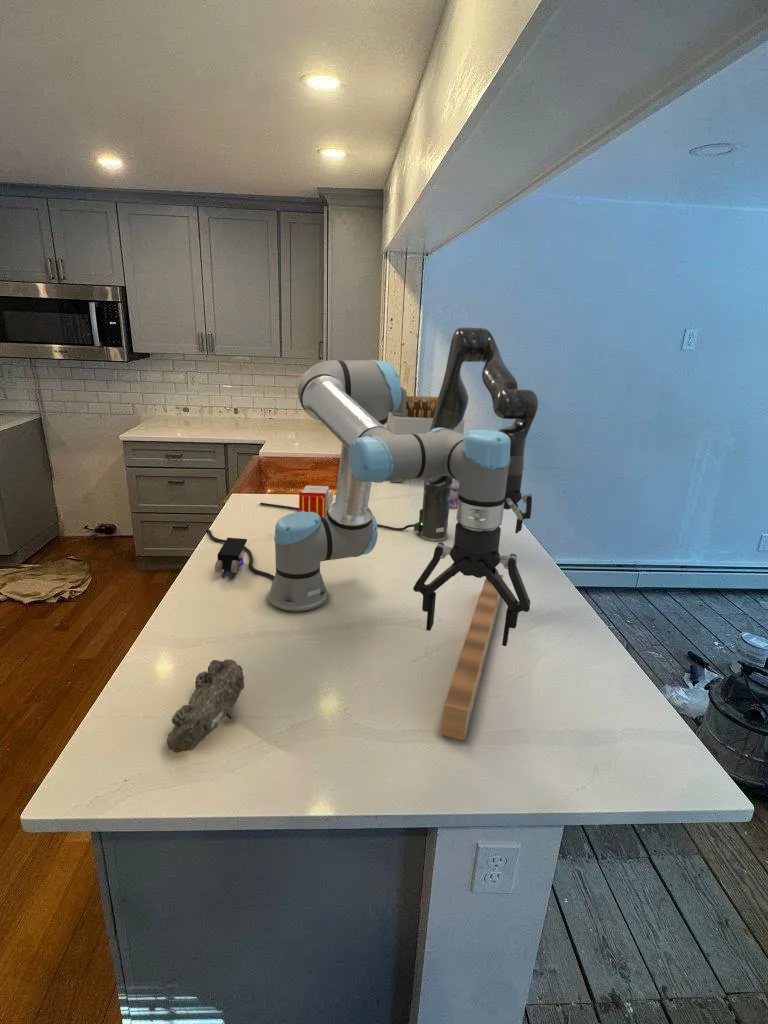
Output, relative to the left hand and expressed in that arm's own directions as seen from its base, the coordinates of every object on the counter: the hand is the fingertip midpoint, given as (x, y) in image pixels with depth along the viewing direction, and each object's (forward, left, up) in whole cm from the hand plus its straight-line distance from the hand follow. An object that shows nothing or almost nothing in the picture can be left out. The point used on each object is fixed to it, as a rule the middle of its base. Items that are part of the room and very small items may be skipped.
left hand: (466, 634), depth 102 cm
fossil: (-24, -40, -20) cm, 51 cm away
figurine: (-105, +79, -20) cm, 133 cm away
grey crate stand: (-150, +93, -20) cm, 178 cm away
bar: (-18, +19, -20) cm, 33 cm away
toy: (-115, +22, -20) cm, 118 cm away
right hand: (-35, +38, +1) cm, 52 cm away
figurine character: (-85, -18, -20) cm, 89 cm away
